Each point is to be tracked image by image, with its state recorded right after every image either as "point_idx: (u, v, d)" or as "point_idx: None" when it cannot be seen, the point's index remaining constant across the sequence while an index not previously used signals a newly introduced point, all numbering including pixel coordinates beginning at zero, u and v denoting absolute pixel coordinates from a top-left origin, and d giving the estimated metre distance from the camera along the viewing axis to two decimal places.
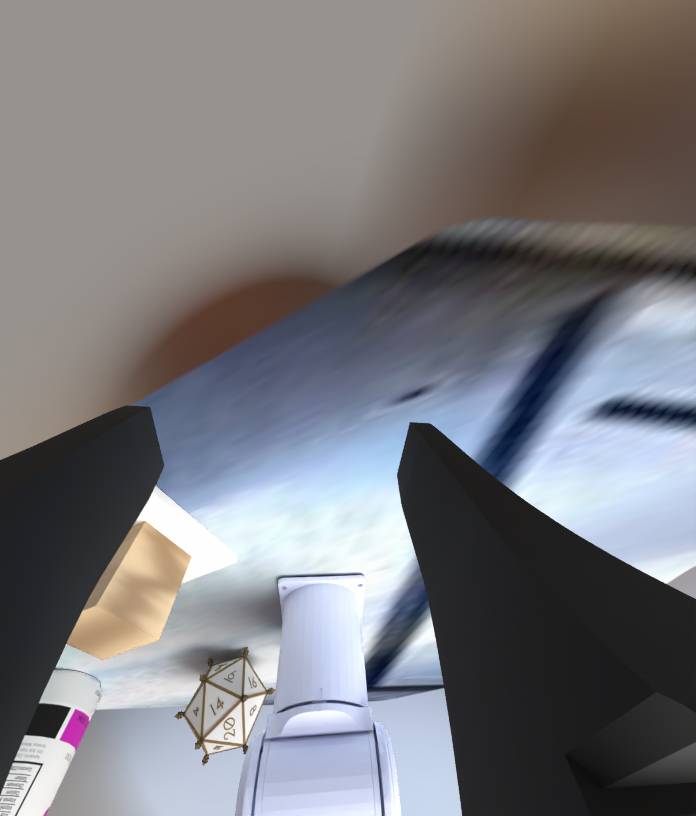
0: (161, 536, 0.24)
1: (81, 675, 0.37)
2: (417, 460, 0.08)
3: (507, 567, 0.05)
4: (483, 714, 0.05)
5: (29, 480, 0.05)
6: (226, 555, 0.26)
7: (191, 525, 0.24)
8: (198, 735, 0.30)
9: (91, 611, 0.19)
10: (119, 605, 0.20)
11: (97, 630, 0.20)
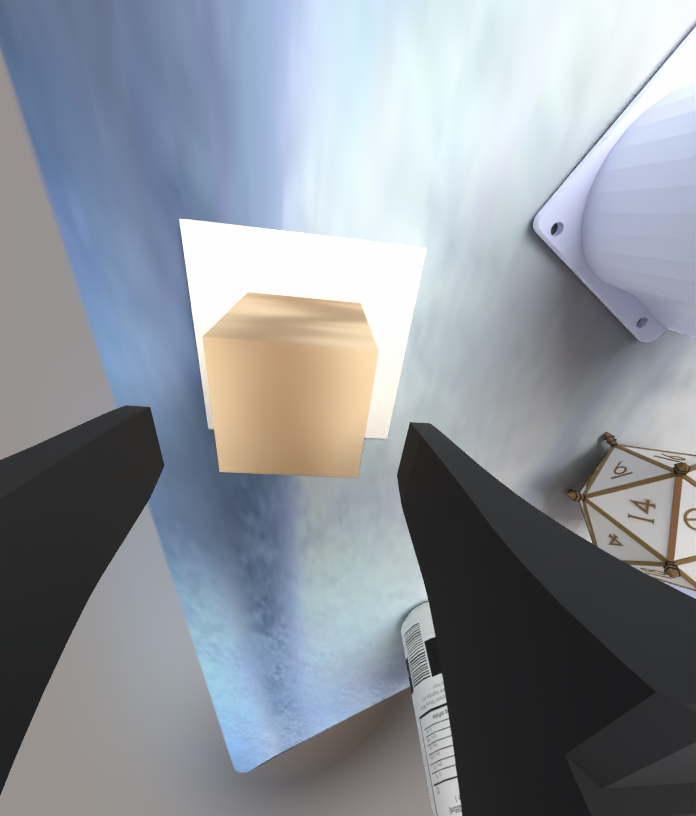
0: (287, 296, 0.14)
1: None
2: (417, 460, 0.08)
3: (507, 567, 0.05)
4: (483, 714, 0.05)
5: (29, 480, 0.05)
6: (399, 247, 0.14)
7: (298, 235, 0.13)
8: (656, 563, 0.16)
9: (215, 361, 0.09)
10: (255, 334, 0.10)
11: (278, 407, 0.10)
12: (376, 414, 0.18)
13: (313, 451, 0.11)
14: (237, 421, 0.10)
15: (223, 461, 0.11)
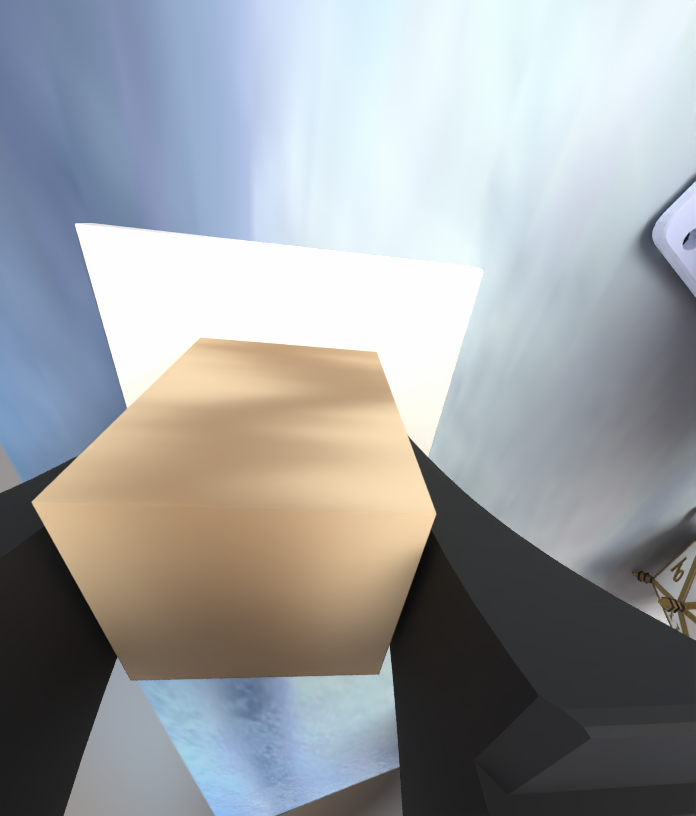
0: (262, 344, 0.09)
1: None
2: None
3: (439, 567, 0.05)
4: (419, 717, 0.05)
5: None
6: (441, 268, 0.08)
7: (276, 249, 0.08)
8: None
9: (77, 541, 0.04)
10: (170, 472, 0.04)
11: (226, 601, 0.05)
12: None
13: (299, 650, 0.06)
14: (148, 621, 0.05)
15: (134, 669, 0.06)
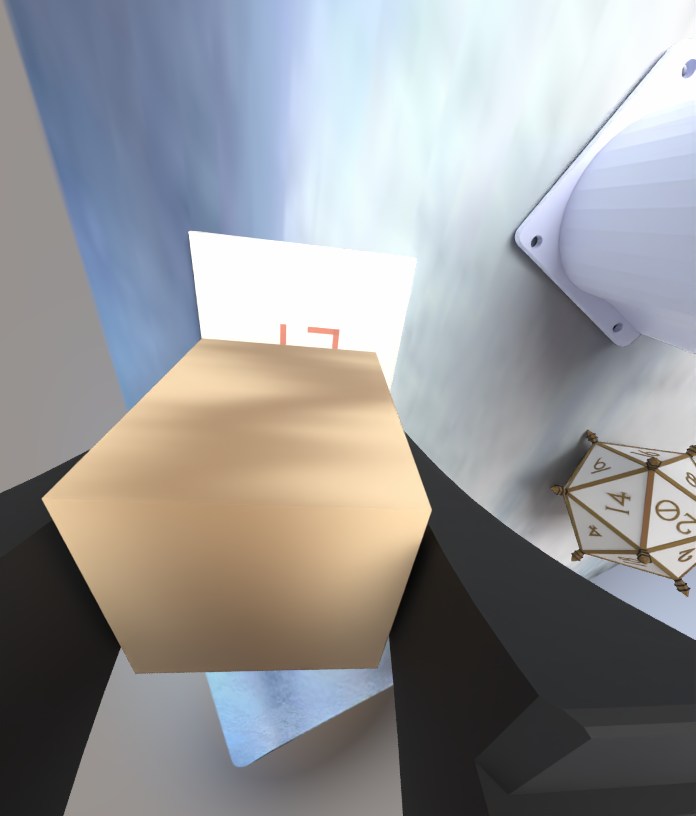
0: (263, 345, 0.09)
1: None
2: None
3: (438, 567, 0.05)
4: (419, 717, 0.05)
5: None
6: (391, 258, 0.15)
7: (298, 246, 0.14)
8: (631, 551, 0.17)
9: (85, 536, 0.04)
10: (174, 470, 0.05)
11: (228, 595, 0.05)
12: None
13: (300, 644, 0.06)
14: (152, 615, 0.05)
15: (139, 662, 0.06)
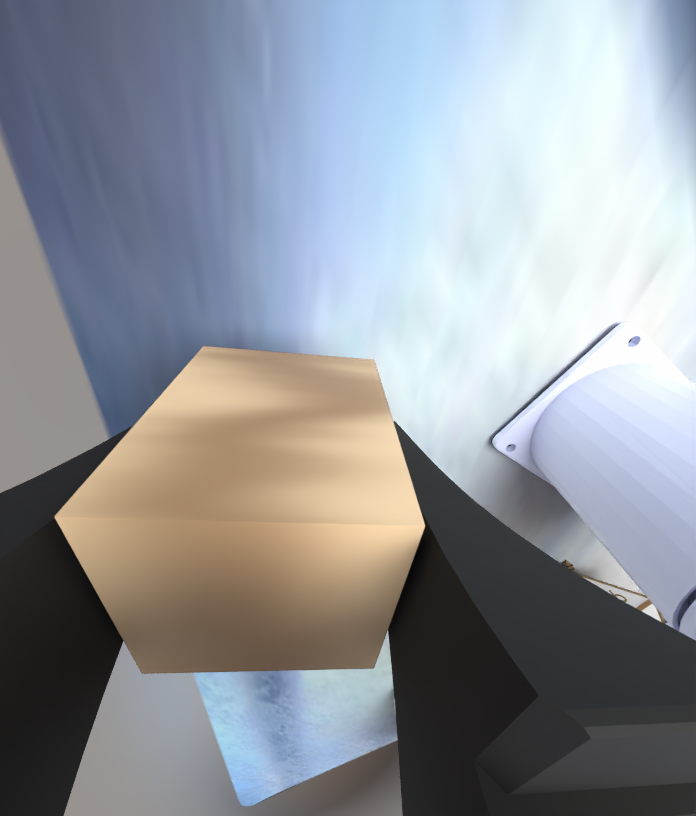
0: (263, 353, 0.09)
1: None
2: None
3: (439, 567, 0.05)
4: (419, 717, 0.05)
5: None
6: None
7: None
8: None
9: (95, 550, 0.05)
10: (180, 487, 0.05)
11: (231, 603, 0.06)
12: None
13: (299, 647, 0.07)
14: (158, 621, 0.06)
15: (145, 663, 0.07)
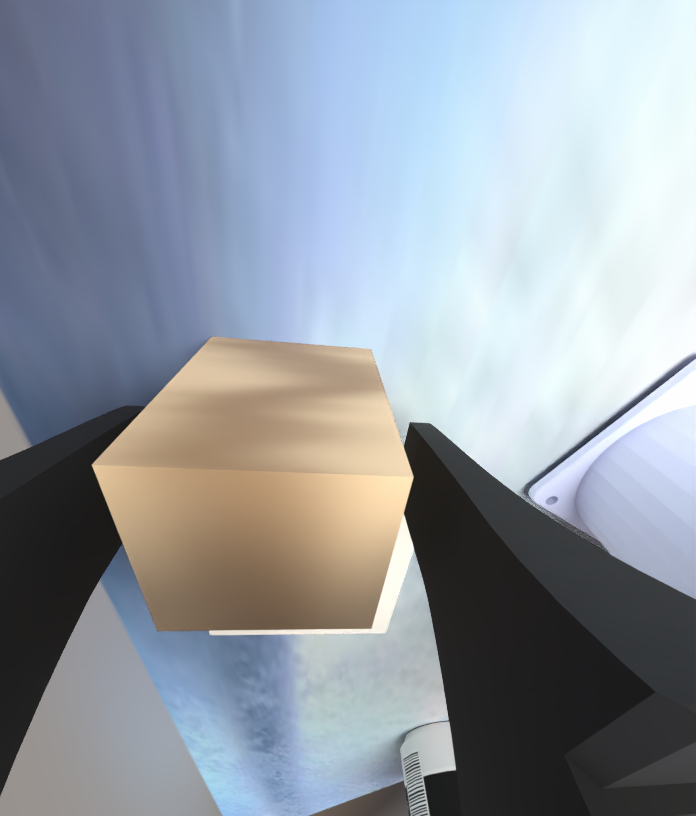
0: (268, 342, 0.10)
1: (442, 725, 0.29)
2: (417, 460, 0.08)
3: (507, 567, 0.05)
4: (483, 715, 0.05)
5: (30, 480, 0.05)
6: None
7: None
8: None
9: (124, 498, 0.05)
10: (197, 444, 0.05)
11: (242, 555, 0.06)
12: (375, 619, 0.18)
13: (302, 603, 0.07)
14: (175, 574, 0.06)
15: (161, 619, 0.07)
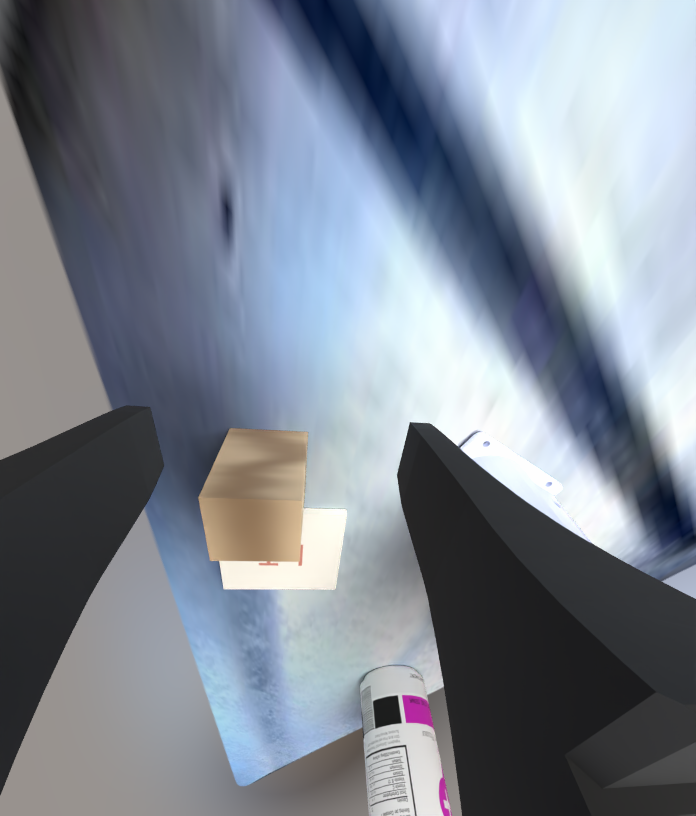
0: (257, 430, 0.21)
1: (389, 668, 0.40)
2: (417, 460, 0.08)
3: (507, 567, 0.05)
4: (484, 715, 0.05)
5: (29, 480, 0.05)
6: (331, 515, 0.25)
7: None
8: None
9: (206, 508, 0.16)
10: (230, 489, 0.16)
11: (244, 528, 0.17)
12: (327, 579, 0.29)
13: (268, 548, 0.18)
14: (220, 535, 0.17)
15: (212, 555, 0.18)
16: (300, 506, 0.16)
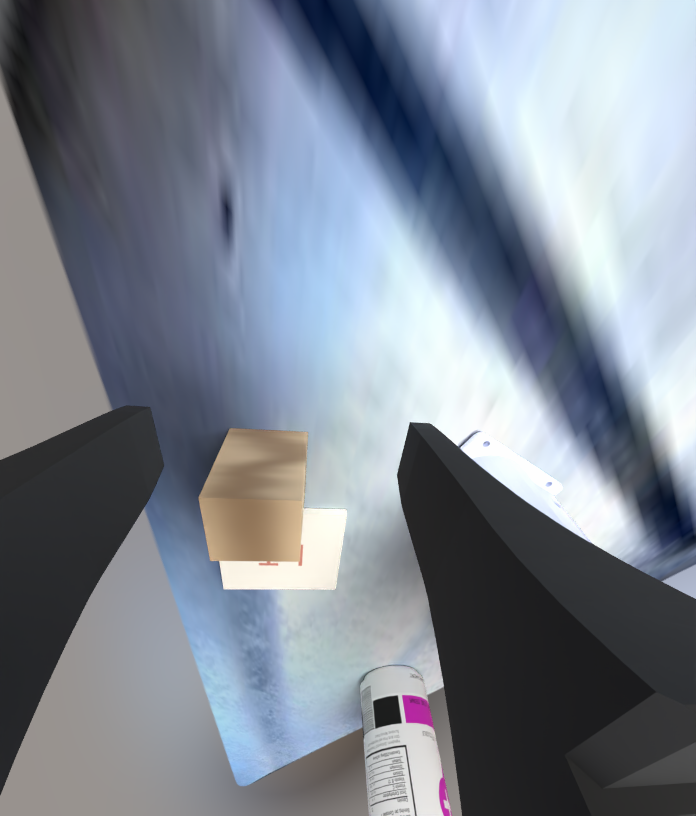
0: (257, 430, 0.21)
1: (389, 668, 0.40)
2: (417, 460, 0.08)
3: (507, 567, 0.05)
4: (484, 715, 0.05)
5: (29, 480, 0.05)
6: (331, 515, 0.25)
7: None
8: None
9: (206, 507, 0.16)
10: (230, 489, 0.16)
11: (244, 528, 0.17)
12: (327, 579, 0.29)
13: (269, 548, 0.18)
14: (220, 535, 0.17)
15: (212, 555, 0.18)
16: (300, 506, 0.16)
